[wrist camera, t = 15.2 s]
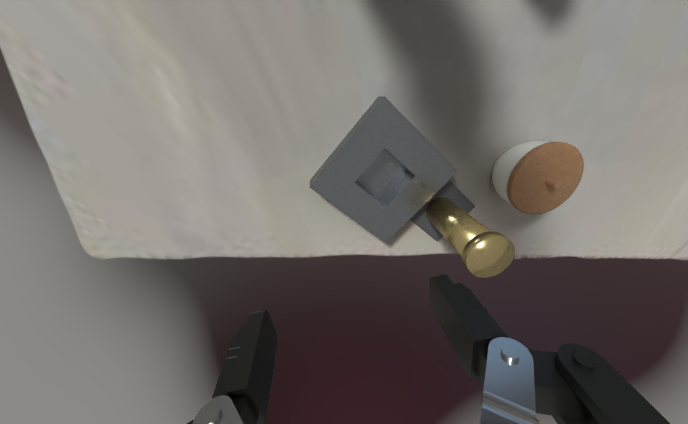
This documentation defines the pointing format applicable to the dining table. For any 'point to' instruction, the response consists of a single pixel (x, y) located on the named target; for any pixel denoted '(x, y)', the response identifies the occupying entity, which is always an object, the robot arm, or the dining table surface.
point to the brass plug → (471, 238)
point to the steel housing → (382, 171)
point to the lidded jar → (537, 175)
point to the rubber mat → (445, 191)
